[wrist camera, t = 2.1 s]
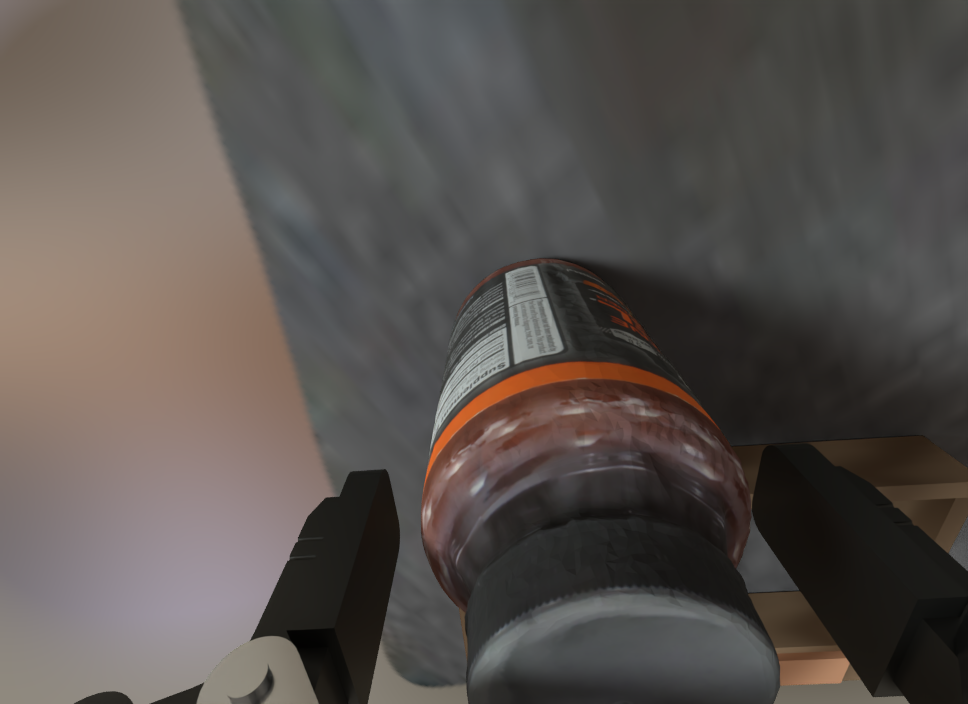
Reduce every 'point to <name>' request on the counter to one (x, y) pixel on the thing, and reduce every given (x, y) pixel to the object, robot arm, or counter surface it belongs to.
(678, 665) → the supplement bottle
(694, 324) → the counter surface
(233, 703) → the robot arm
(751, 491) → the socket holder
